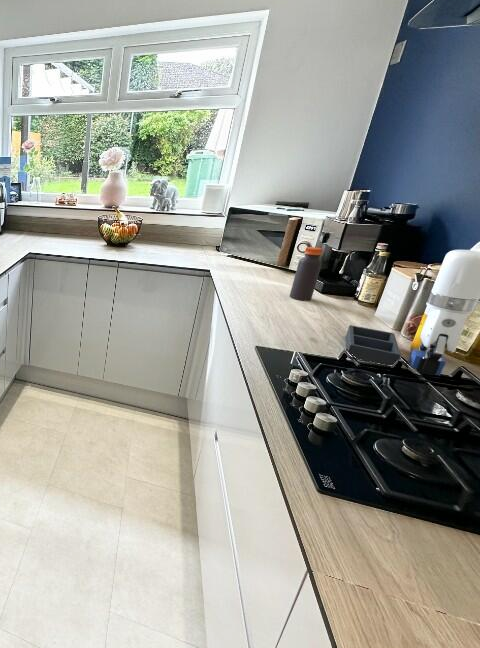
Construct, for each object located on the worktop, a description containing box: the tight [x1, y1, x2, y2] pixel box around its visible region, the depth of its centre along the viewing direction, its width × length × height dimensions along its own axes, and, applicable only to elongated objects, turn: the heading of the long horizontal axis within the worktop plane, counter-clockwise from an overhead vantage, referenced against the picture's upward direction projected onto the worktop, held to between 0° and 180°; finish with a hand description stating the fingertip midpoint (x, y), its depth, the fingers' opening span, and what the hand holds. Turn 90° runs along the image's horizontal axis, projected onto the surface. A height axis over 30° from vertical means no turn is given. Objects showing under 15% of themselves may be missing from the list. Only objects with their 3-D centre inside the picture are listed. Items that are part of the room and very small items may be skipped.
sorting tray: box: [345, 324, 401, 366], centre depth 112 cm, size 10×18×4 cm, turn 138°
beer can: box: [409, 305, 447, 353], centre depth 108 cm, size 6×6×15 cm
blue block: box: [407, 349, 447, 376], centre depth 100 cm, size 5×5×5 cm
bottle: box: [289, 246, 323, 301], centre depth 154 cm, size 7×7×20 cm
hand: (423, 369), depth 101 cm, fingers closed on blue block, 5 cm apart
